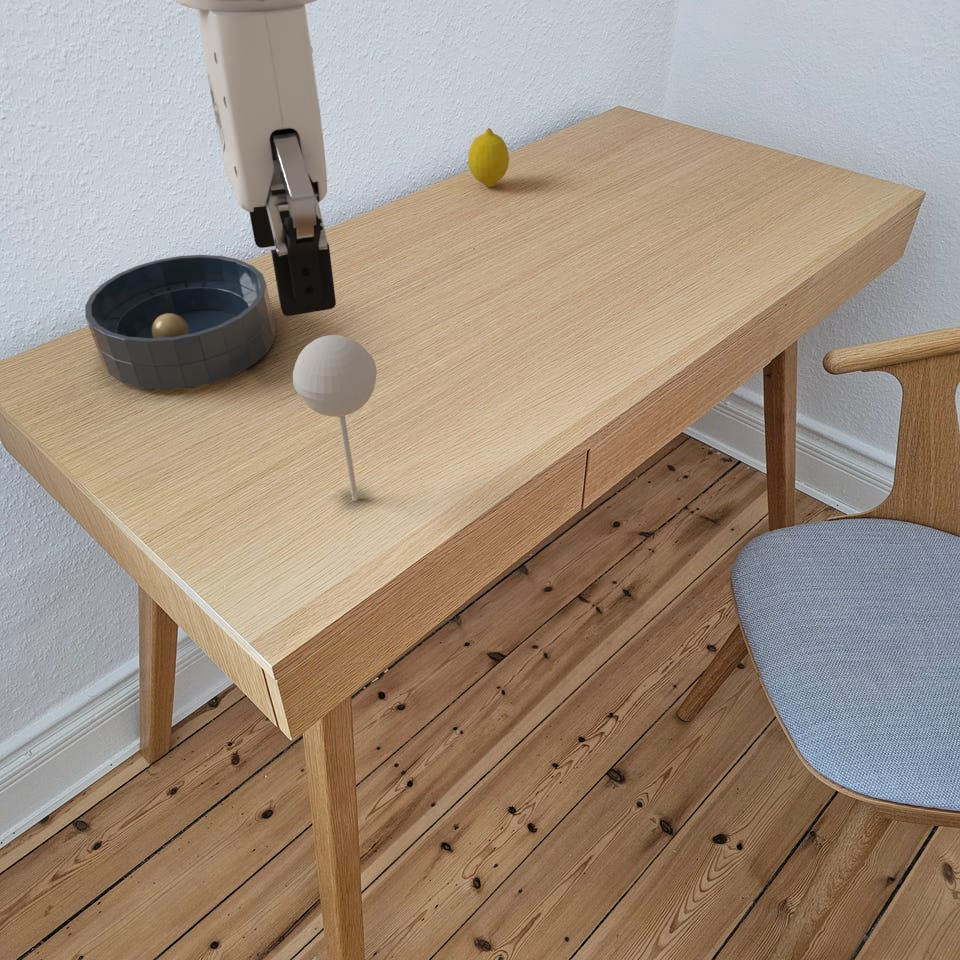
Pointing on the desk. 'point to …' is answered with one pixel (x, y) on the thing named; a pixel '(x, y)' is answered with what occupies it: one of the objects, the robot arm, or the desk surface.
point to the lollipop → (336, 382)
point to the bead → (169, 326)
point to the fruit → (488, 158)
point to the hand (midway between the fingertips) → (293, 274)
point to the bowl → (200, 302)
